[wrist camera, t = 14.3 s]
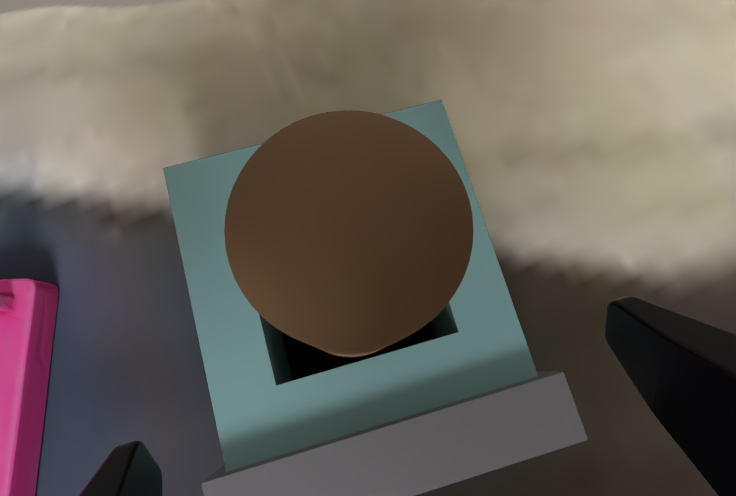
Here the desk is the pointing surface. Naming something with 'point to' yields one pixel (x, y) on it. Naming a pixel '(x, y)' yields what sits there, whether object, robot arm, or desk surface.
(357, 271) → the walnut dowel
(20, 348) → the file sorter
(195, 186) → the teal block
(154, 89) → the desk surface
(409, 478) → the charcoal wall
